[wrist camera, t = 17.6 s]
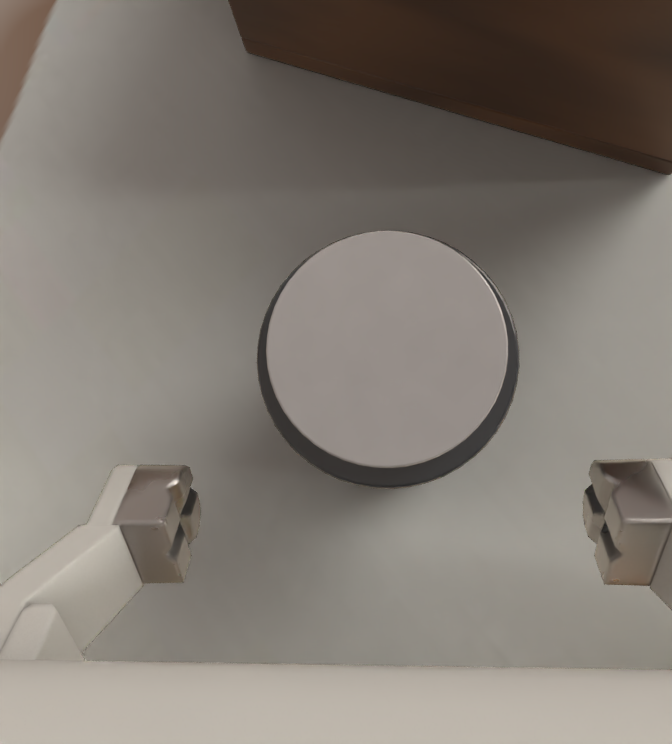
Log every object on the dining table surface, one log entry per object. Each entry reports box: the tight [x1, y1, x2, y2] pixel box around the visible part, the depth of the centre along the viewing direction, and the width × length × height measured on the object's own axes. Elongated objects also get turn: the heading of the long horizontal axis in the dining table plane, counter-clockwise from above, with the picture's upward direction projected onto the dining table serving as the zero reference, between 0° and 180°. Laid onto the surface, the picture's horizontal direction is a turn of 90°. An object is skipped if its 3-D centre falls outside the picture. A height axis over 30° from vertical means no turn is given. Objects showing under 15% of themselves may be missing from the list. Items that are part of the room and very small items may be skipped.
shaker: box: [257, 231, 519, 489], centre depth 16 cm, size 5×5×9 cm
